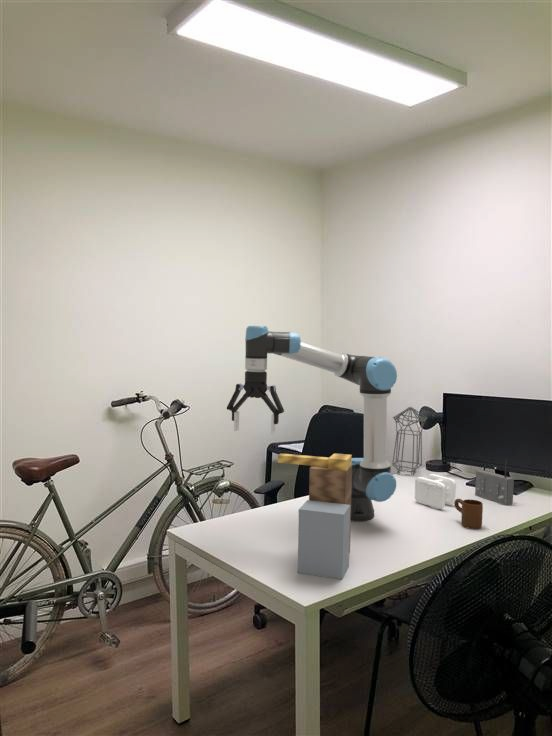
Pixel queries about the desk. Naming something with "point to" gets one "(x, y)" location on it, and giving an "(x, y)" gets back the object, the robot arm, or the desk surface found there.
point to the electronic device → (494, 486)
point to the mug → (470, 513)
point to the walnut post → (330, 486)
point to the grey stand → (323, 539)
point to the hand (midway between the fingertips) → (254, 432)
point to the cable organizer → (435, 491)
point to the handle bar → (318, 461)
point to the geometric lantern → (408, 434)
